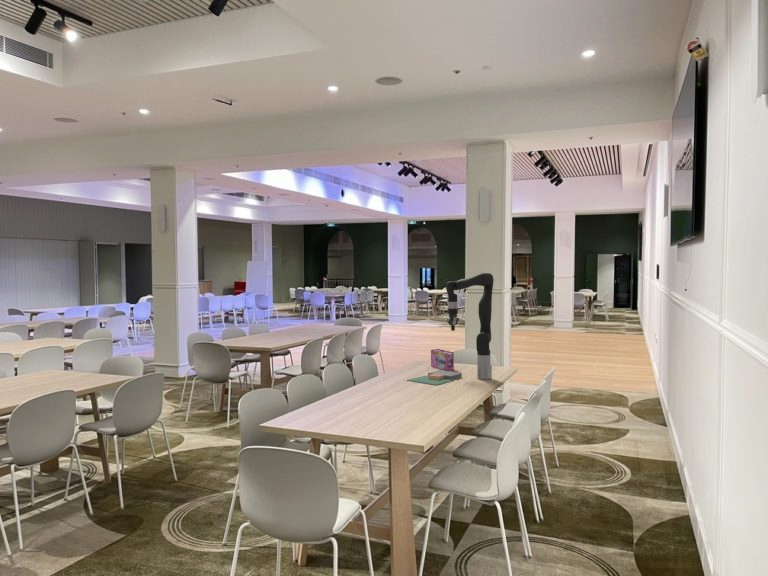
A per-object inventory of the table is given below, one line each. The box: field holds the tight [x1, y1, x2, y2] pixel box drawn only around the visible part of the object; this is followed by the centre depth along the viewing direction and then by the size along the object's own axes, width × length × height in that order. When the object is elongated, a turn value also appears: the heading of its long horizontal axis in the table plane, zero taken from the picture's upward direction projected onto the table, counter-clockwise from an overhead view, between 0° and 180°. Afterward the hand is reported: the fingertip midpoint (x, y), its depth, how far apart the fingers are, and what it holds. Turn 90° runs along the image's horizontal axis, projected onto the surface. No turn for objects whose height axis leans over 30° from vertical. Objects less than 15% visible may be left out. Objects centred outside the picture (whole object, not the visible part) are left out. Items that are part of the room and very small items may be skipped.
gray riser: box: [427, 369, 463, 380], centre depth 413 cm, size 20×14×3 cm
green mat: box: [406, 375, 455, 386], centre depth 400 cm, size 26×20×1 cm
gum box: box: [430, 348, 455, 371], centre depth 451 cm, size 24×8×14 cm, turn 27°
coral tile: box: [427, 374, 444, 380], centre depth 405 cm, size 9×7×2 cm
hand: (453, 330), depth 428 cm, fingers closed
